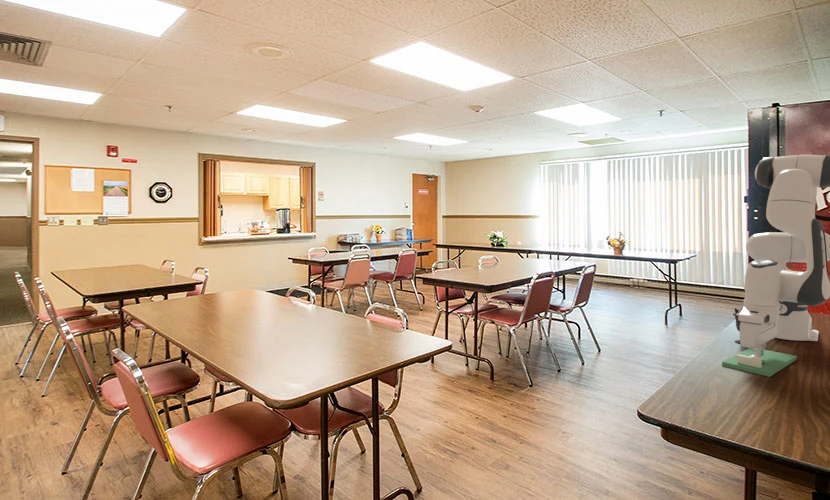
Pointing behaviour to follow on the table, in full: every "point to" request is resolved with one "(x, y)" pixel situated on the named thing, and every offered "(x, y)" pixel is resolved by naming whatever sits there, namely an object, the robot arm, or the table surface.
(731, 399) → the table surface
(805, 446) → the table surface
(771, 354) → the green
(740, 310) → the sundae
